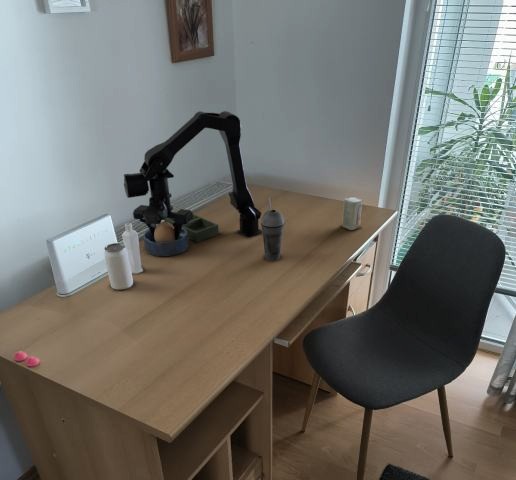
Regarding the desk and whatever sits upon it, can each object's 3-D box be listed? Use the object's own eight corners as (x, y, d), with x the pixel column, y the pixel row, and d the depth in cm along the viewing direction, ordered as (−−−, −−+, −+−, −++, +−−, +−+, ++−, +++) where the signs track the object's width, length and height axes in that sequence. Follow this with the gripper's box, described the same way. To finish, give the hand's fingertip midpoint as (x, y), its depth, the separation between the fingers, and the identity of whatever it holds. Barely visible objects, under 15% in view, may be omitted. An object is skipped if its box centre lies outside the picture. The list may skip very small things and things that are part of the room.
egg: (168, 253, 162) (165, 228, 157) (151, 248, 165) (147, 224, 160) (182, 245, 167) (179, 220, 162) (165, 240, 170) (162, 216, 165)
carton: (218, 234, 174) (218, 224, 172) (196, 242, 169) (195, 232, 167) (186, 219, 186) (186, 210, 184) (165, 226, 181) (163, 217, 178)
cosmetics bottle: (360, 227, 177) (363, 200, 171) (351, 230, 175) (353, 202, 169) (350, 223, 180) (352, 196, 175) (341, 226, 179) (343, 198, 173)
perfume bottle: (147, 268, 154) (139, 222, 145) (138, 274, 151) (130, 228, 142) (135, 266, 156) (126, 220, 147) (126, 272, 152) (117, 225, 144)
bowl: (197, 247, 166) (195, 233, 163) (161, 261, 158) (159, 246, 155) (172, 235, 174) (170, 221, 171) (137, 247, 166) (135, 233, 164)
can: (137, 281, 147) (130, 244, 140) (126, 291, 142) (118, 253, 135) (118, 278, 149) (111, 241, 142) (106, 288, 144) (98, 250, 137)
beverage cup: (284, 262, 156) (285, 200, 144) (261, 262, 156) (260, 200, 144) (283, 252, 162) (284, 191, 150) (261, 252, 162) (260, 192, 150)
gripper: (120, 198, 151) (128, 246, 160) (176, 204, 147) (181, 252, 156) (138, 187, 160) (145, 232, 169) (191, 192, 155) (195, 238, 164)
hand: (166, 239), depth 164 cm, fingers closed on egg, 7 cm apart
